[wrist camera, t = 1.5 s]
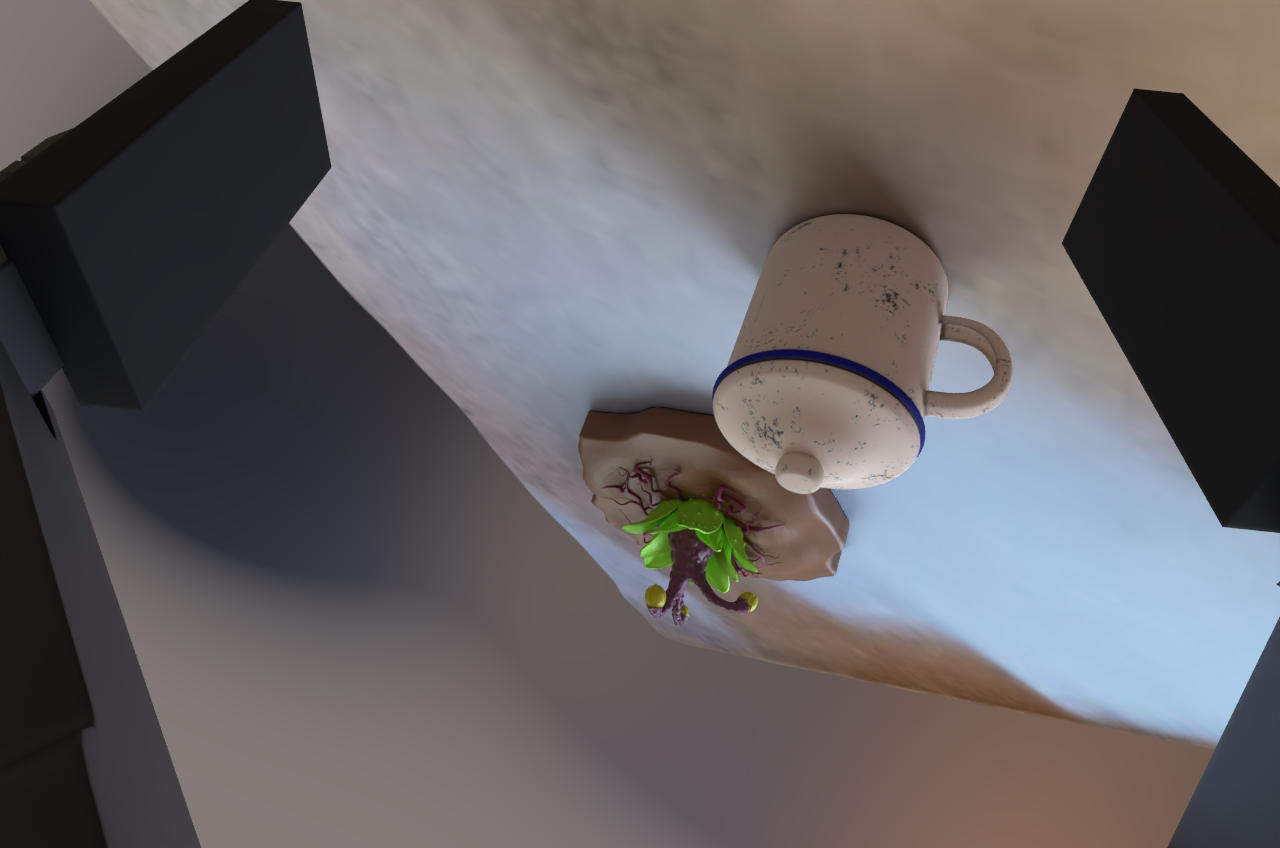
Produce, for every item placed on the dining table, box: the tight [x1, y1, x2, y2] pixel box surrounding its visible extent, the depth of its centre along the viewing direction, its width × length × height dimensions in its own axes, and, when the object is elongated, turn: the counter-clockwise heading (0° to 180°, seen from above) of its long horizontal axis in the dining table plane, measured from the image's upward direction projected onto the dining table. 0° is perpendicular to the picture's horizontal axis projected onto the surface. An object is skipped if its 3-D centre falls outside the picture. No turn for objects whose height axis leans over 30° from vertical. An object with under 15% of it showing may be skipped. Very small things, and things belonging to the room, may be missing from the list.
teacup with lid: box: [712, 214, 1012, 494], centre depth 37 cm, size 12×9×12 cm
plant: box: [579, 407, 849, 625], centre depth 60 cm, size 20×20×11 cm
